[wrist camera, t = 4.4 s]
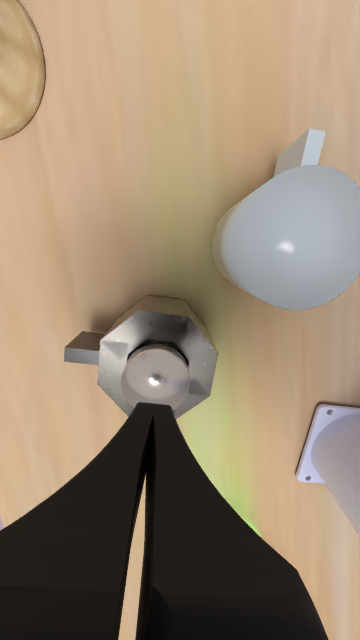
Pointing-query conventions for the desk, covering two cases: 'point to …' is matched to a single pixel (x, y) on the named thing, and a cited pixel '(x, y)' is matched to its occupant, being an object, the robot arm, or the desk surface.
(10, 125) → the hand bell
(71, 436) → the desk surface
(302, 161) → the white dome with tab
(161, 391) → the grey flared round piece
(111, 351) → the grey octagonal pot
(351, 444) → the robot arm
